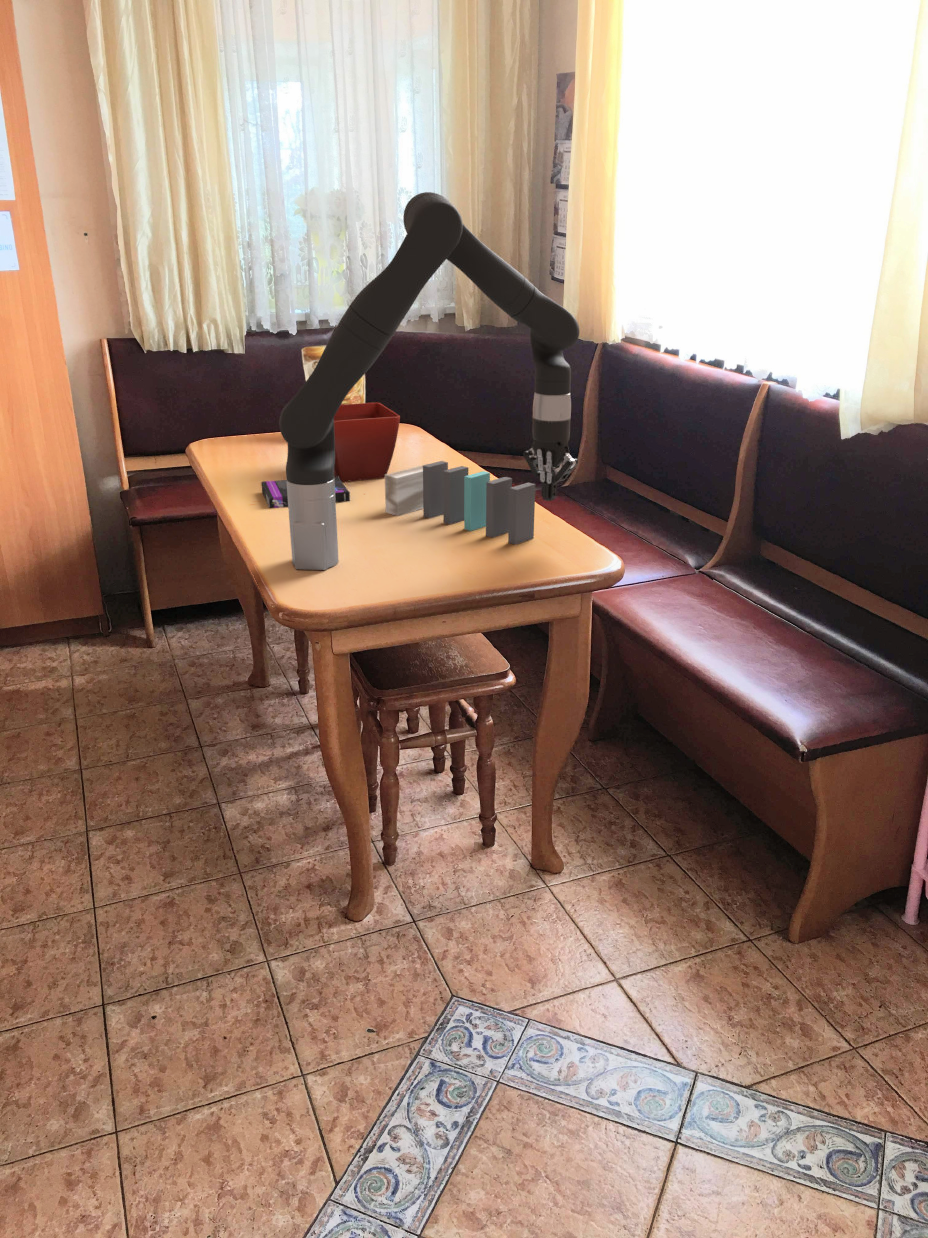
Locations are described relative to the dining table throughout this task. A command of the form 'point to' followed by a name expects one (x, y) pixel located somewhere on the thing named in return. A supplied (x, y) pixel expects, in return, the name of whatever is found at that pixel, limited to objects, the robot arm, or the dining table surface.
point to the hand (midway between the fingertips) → (548, 499)
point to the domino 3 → (475, 500)
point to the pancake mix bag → (311, 360)
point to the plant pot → (364, 441)
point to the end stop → (404, 491)
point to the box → (279, 498)
